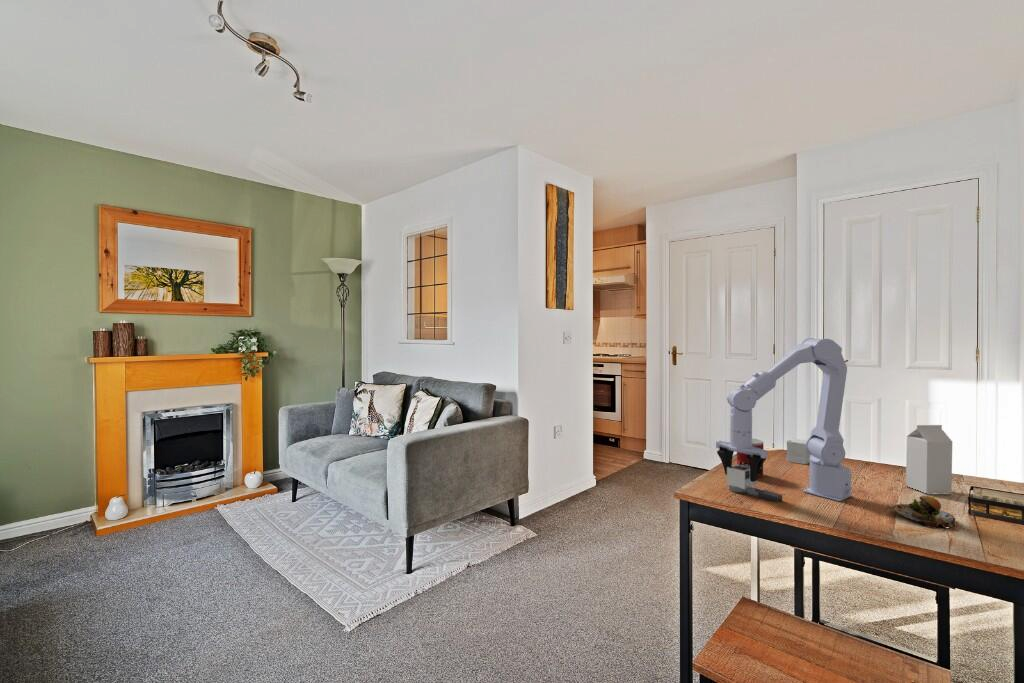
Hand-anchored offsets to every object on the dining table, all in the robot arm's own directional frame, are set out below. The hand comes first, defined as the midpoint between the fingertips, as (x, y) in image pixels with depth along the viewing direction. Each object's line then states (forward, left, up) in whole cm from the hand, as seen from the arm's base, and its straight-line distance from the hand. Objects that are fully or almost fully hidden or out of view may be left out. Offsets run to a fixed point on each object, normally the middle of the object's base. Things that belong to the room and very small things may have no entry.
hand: (740, 477), depth 138 cm
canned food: (+7, -17, -4) cm, 19 cm away
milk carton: (-31, -44, -4) cm, 54 cm away
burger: (-37, -17, -4) cm, 41 cm away
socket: (0, 0, -2) cm, 2 cm away
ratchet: (-4, 0, -4) cm, 6 cm away
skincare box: (+5, -46, -4) cm, 46 cm away
